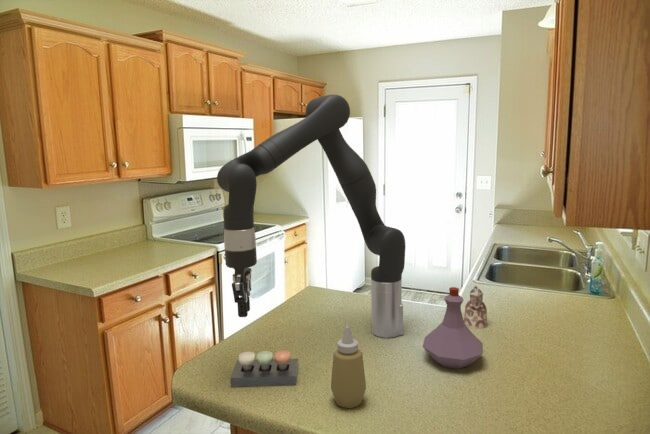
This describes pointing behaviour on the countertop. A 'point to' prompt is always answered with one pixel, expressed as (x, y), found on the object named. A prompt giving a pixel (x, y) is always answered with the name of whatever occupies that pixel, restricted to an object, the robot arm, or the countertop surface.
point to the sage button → (265, 360)
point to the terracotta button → (282, 359)
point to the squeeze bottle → (348, 372)
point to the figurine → (475, 310)
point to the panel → (264, 375)
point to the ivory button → (247, 360)
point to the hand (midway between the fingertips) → (244, 313)
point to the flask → (453, 337)
